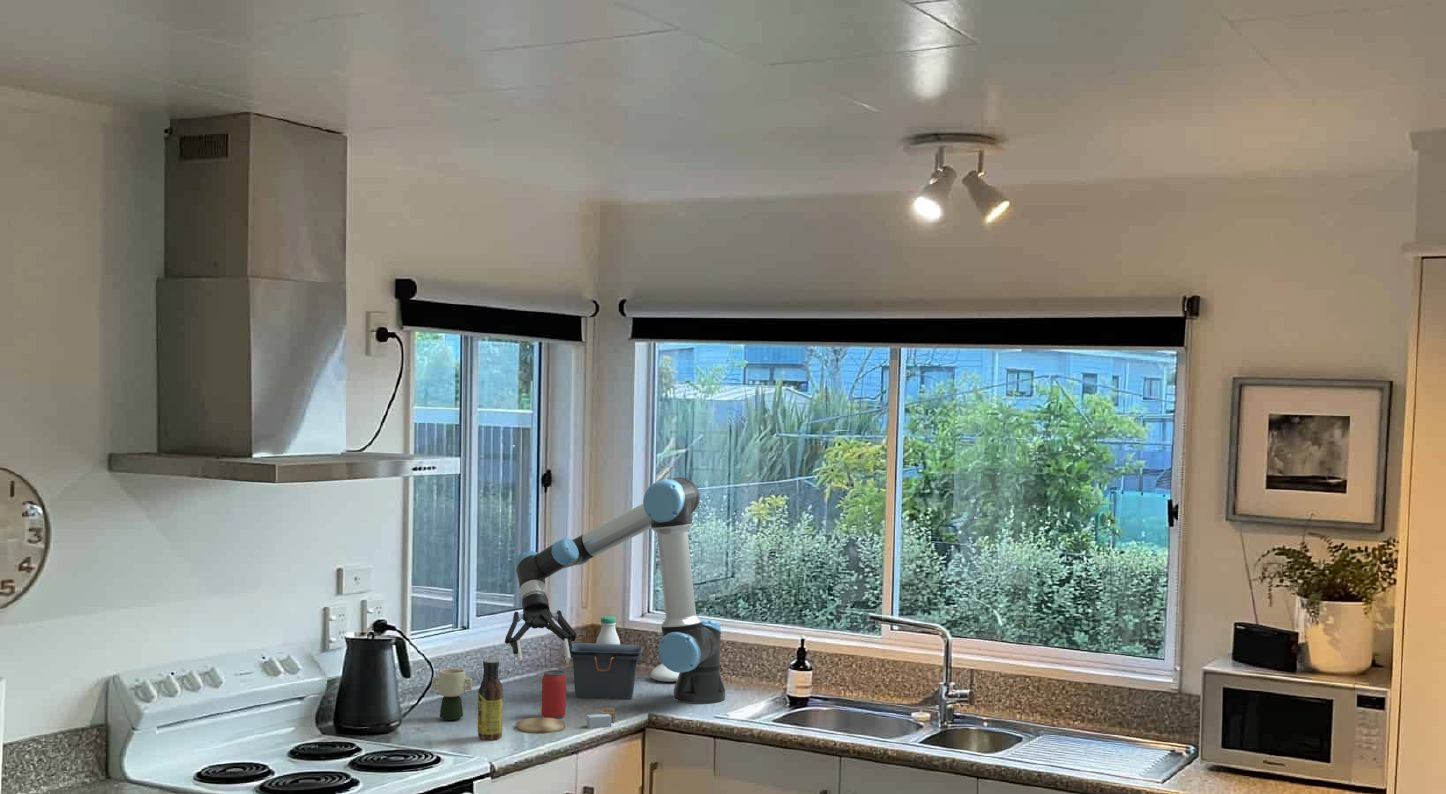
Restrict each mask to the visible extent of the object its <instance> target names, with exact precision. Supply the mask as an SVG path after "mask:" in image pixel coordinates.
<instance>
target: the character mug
mask: <svg viewBox="0 0 1446 794" xmlns="http://www.w3.org/2000/svg"><path fill="white" fill-rule="evenodd" d="M466 672H467V671H466V670H465V669H464V668H458V667H457V668H456V667H455V668H443V669H440V670H439V671H438V676H433V677H432V678H431V688H432V689H433V690H438V694H439V695H440V696H441V697H442V699H441V705H440V711H439V717H440V719H442V720H451V721H452V720H458V719H460V718H463V717H464V711H463V709H464V708H463V700H462V697H461V696H463V695H465V692H466V691H472V690H473V679H472V678H471V677H466ZM436 681H438V685H436ZM466 682H468V686H466Z"/></svg>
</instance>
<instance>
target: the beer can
mask: <svg viewBox="0 0 1446 794" xmlns="http://www.w3.org/2000/svg"><path fill="white" fill-rule="evenodd" d="M541 679H542V680H541V703H540V704H541V707H540V708H541V710H540V711H541V713H540V714H541V717H542V718H555V719H556V718H557V719H561V718H564V717H565V716H566V714H567V712H566V711H567V710H566V709H567V707H566V706H567V678H566V675H565V671H563V670H546V671H544V673H543V675H542V678H541Z"/></svg>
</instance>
